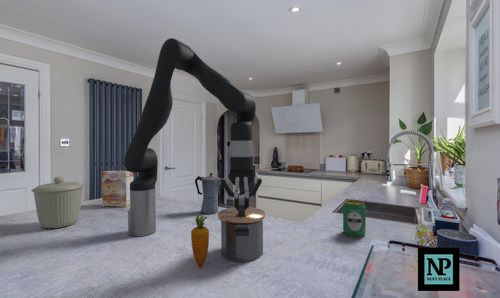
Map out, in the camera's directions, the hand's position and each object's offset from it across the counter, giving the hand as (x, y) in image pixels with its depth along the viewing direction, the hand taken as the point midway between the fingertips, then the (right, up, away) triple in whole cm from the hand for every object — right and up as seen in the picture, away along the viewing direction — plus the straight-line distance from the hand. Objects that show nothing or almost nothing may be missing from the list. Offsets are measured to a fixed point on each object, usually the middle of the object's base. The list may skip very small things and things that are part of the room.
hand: (241, 209), depth 81 cm
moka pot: (-18, -13, +48) cm, 53 cm away
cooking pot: (0, -14, 0) cm, 14 cm away
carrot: (-11, -14, -9) cm, 21 cm away
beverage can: (+43, -13, +17) cm, 48 cm away
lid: (0, -3, 0) cm, 3 cm away
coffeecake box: (-72, -13, +63) cm, 96 cm away
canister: (-80, -14, +29) cm, 86 cm away
